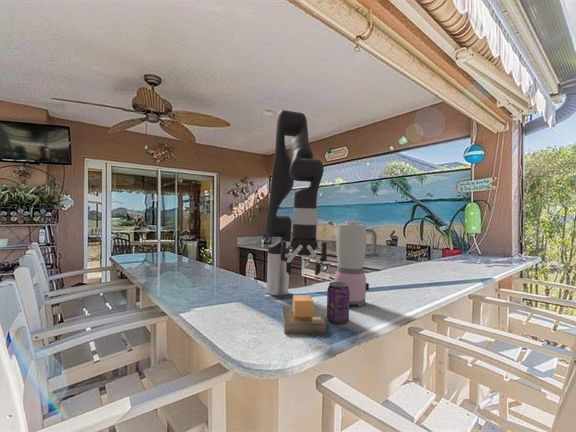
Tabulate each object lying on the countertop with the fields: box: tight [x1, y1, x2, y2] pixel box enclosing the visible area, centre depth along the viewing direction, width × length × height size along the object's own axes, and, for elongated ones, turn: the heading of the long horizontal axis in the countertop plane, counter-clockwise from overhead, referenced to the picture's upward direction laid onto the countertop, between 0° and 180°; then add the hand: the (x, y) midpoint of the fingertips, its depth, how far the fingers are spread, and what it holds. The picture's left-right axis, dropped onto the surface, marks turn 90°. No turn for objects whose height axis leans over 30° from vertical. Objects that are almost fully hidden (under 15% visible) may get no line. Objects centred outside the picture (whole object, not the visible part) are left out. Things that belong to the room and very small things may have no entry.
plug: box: [292, 294, 314, 317], centre depth 94 cm, size 6×6×8 cm
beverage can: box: [326, 281, 350, 324], centre depth 97 cm, size 7×7×12 cm
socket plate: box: [280, 305, 327, 335], centre depth 94 cm, size 16×12×4 cm
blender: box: [333, 220, 377, 308], centre depth 117 cm, size 16×12×32 cm
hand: (302, 274), depth 94 cm, fingers open, 8 cm apart
